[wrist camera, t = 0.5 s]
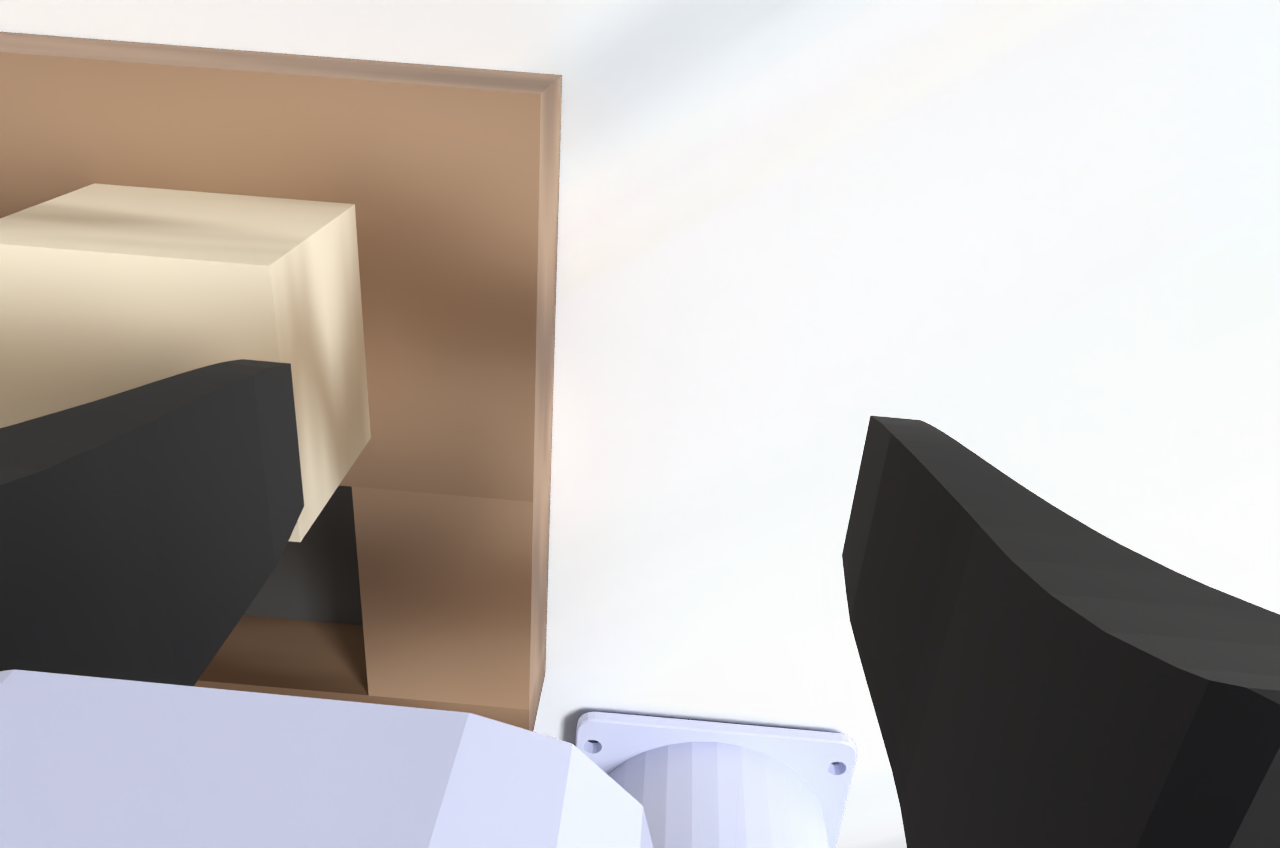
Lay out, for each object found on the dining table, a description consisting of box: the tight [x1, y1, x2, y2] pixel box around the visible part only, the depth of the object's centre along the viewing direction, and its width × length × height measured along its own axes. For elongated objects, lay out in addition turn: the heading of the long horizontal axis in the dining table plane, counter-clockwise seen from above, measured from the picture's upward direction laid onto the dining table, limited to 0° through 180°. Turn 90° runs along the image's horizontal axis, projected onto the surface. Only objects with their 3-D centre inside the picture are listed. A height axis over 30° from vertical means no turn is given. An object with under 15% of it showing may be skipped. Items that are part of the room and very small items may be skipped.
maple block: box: [0, 183, 371, 542], centre depth 17 cm, size 5×5×4 cm
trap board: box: [0, 32, 562, 731], centre depth 22 cm, size 16×24×3 cm, turn 86°
